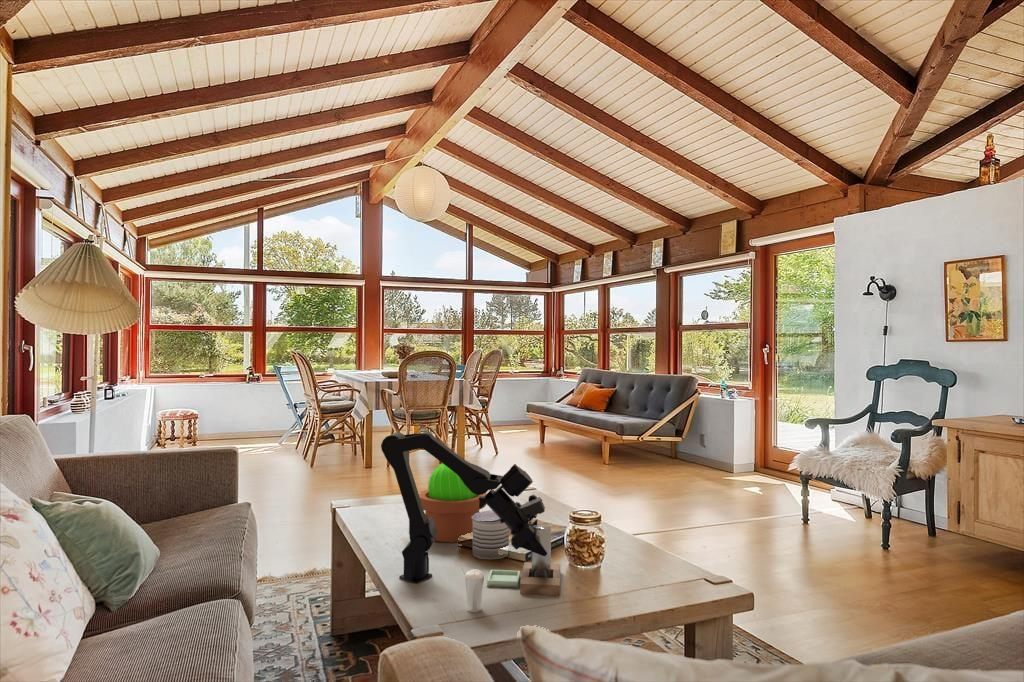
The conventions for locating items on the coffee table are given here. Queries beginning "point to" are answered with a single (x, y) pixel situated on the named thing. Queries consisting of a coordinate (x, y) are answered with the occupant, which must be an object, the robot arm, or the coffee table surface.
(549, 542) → the steel cylinder
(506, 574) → the tray
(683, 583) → the coffee table surface
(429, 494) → the potted cactus
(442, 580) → the coffee table surface
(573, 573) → the coffee table surface
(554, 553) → the coffee table surface
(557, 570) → the pocket block
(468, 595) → the milkshake
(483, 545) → the can
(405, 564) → the robot arm
